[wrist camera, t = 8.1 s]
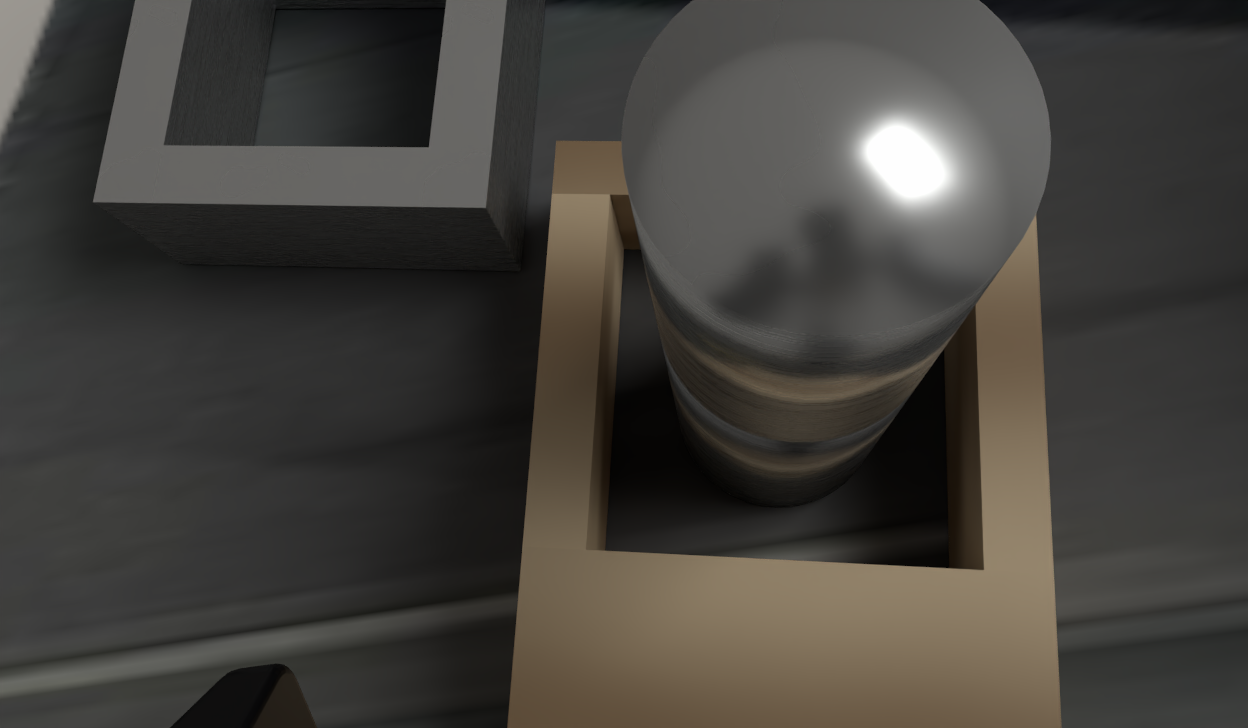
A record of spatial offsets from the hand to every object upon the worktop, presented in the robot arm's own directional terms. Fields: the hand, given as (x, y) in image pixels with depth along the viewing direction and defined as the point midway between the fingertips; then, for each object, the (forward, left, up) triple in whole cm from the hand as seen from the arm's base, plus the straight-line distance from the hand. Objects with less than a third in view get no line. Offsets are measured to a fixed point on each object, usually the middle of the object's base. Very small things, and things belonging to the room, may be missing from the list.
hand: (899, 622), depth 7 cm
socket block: (+10, +9, -11) cm, 17 cm away
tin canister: (+4, +1, -11) cm, 11 cm away
